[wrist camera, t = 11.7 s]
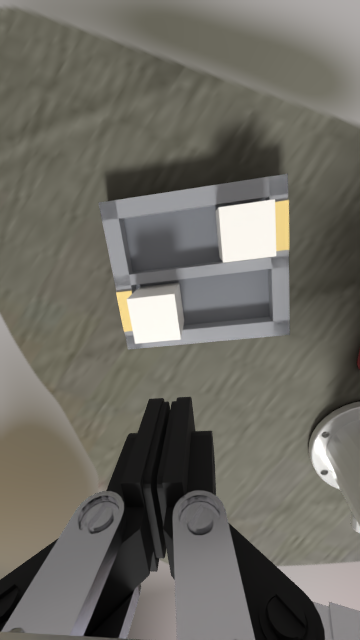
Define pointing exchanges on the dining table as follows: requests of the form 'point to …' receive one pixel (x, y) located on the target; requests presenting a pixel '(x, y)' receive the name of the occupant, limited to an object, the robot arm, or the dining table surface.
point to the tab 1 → (156, 313)
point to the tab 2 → (246, 231)
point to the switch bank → (201, 260)
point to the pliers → (359, 361)
